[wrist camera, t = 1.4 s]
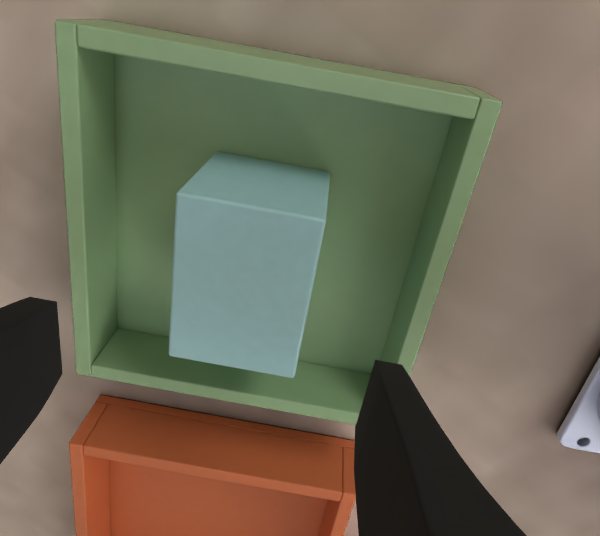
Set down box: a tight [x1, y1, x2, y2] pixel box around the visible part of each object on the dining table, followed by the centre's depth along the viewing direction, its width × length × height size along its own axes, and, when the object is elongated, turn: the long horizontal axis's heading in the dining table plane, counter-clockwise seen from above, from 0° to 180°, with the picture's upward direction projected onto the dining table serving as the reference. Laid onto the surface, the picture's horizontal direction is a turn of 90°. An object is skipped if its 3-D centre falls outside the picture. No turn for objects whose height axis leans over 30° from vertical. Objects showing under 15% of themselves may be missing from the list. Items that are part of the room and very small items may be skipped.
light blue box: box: [169, 152, 330, 378], centre depth 16 cm, size 4×5×5 cm
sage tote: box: [55, 19, 502, 425], centre depth 17 cm, size 12×12×3 cm
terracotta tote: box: [69, 395, 356, 536], centre depth 25 cm, size 12×12×3 cm
